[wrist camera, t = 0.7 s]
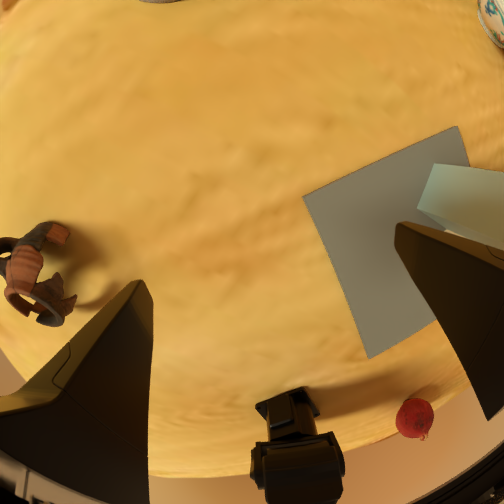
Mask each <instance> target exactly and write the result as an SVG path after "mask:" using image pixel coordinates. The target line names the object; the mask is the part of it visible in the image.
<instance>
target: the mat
mask: <svg viewBox="0 0 504 504" xmlns="http://www.w3.org/2000/svg"><path fill="white" fill-rule="evenodd" d="M434 163H436V164H446V165H455V166H464V167H470V166H469V162H468V158H467V155H466V151H465V148H464V145H463V141H462V138H461V135H460V132H459V129H458V126H454V127H451V128H449V129H447V130H444V131H442V132H440V133H438V134H435V135H433V136H431V137H428V138H426V139H424V140H422V141H419V142H417V143H415V144H413V145H411V146H408V147H406V148H404V149H402V150H400V151H397V152H395V153H393V154H391V155H389V156H386V157H384V158H382V159H380V160H378V161H376V162H373V163H371V164H369V165H367V166H365V167H363V168H361V169H359V170H356V171H354V172H352V173H350V174H348V175H346V176H344V177H342V178H340V179H338V180H335V181H333V182H331V183H329V184H327V185H325V186H323V187H321V188H319V189H317V190H315V191H313V192H311V193H309V194H307V195H305V196H303V197H302V198H303V200H304V202H305V204H306V207H307V209H308V211H309V213H310V215H311V217H312V219H313V222H314V224H315V226H316V228H317V230H318V233H319V235H320V237H321V239H322V242H323V244H324V246H325V249H326V251H327V253H328V256H329V258H330V260H331V263H332V265H333V267H334V270H335V272H336V275H337V277H338V279H339V282H340V284H341V287H342V289H343V292H344V294H345V297H346V299H347V302H348V305H349V307H350V310H351V312H352V315H353V318H354V320H355V323H356V326H357V329H358V331H359V334H360V337H361V340H362V342H363V345H364V348H365V351H366V354H367V357H368V359H371V358H373V357H374V356H376V355H378V354H380V353H382V352H384V351H385V350H387V349H389V348H391V347H392V346H394V345H396V344H398V343H399V342H401V341H403V340H404V339H406V338H408V337H409V336H411V335H413V334H414V333H416V332H418V331H419V330H421V329H422V328H424V327H425V326H427V325H428V324H430V323H431V322H433V321H434V320H436V319H437V318H436V317H435V315H434V313H433V312H432V310H431V309H430V307H429V305H428V304H427V302H426V301H425V299H424V297H423V296H422V294H421V293H420V291H419V290H418V288H417V287H416V285H415V284H414V282H413V280H412V279H411V277H410V275H409V273H408V271H407V269H406V268H405V266H404V264H403V262H402V260H401V259H400V257H399V255H398V253H397V252H396V250H395V247H394V236H395V226H396V224H397V223H398V222H403V221H409V222H412V223H416V224H420V225H423V226H427V227H431V228H434V229H437V230H441V231H444V232H448V233H451V234H454V235H458V236H461V235H459V234H456V233H454V232H452V231H450V230H447V229H446V228H444V227H443V226H442V225H440V224H439V223H437V222H436V221H435V220H433V219H432V218H430V217H429V216H427V215H426V214H424V213H423V212H421V211H420V210H418V209H417V206H418V204H419V201H420V199H421V197H422V194H423V192H424V189H425V187H426V184H427V181H428V179H429V176H430V173H431V171H432V168H433V165H434ZM461 237H463V236H461ZM464 238H465V237H464ZM467 239H468V238H467Z"/></svg>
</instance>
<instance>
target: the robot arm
mask: <svg viewBox="0 0 504 504" xmlns="http://www.w3.org/2000/svg"><path fill="white" fill-rule="evenodd" d="M394 247H395V250H396V252H397V253H398V255H399V257H400V259H401V260H402V262H403V264H404V266H405V268H406V269H407V271H408V273H409V275H410V277H411V279H412V280H413V282H414V284H415V285H416V287H417V288H418V290H419V291H420V293H421V294H422V296H423V297H424V299H425V301H426V302H427V304H428V305H429V307H430V309H431V310H432V312H433V313H434V315H435V317H436V318H437V320H438V322H439V324H440V325H441V327H442V329H443V330H444V332H445V334H446V336H447V337H448V339H449V341H450V343H451V345H452V347H453V348H454V350H455V352H456V354H457V356H458V358H459V360H460V362H461V364H462V366H463V368H464V370H465V372H466V374H467V376H468V378H469V380H470V382H471V385H472V387H473V389H474V391H475V393H476V395H477V398H478V400H479V402H480V405H481V407H482V409H483V412H484V414H485V417H486V419H487V421H489V420H491V419H492V418H493V417H494V416H496V415H497V414H498V413H499V412H501V411H502V410H503V409H504V250H501V249H498V248H495V247H492V246H489V245H484V244H483V243H480V242H476V241H473V240H470V239H467V238H464V237H461V236H458V235H454V234H451V233H448V232H444V231H441V230H437V229H434V228H431V227H427V226H423V225H420V224H416V223H412V222H409V221H403V222H398V223H397V224H396V226H395V236H394ZM152 351H153V299H152V297H151V295H150V293H149V291H148V288H147V286H146V284H145V282H144V281H143V280H141V279H139V280H135V281H131V282H130V283H129V284H128V285H127V286H126V287H124V288H123V289H122V290H121V291H120V292H119V293H118V294H117V295H116V296H115V297H114V298H113V299H112V300H111V301H109V302H108V303H107V304H106V305H105V306H104V307H103V308H102V309H101V310H100V311H99V312H98V313H97V314H96V315H95V316H94V317H93V318H92V319H91V320H90V321H89V322H88V323H87V324H86V325H85V326H84V327H83V328H82V329H81V330H80V331H79V332H78V333H77V334H76V335H75V336H74V337H73V338H72V339H71V340H70V342H68V343H67V344H66V345H65V346H64V347H63V348H62V349H61V350H60V351H59V352H58V353H57V354H56V355H55V356H54V357H53V358H52V359H51V360H50V361H49V362H48V363H47V364H46V365H45V366H43V367H42V368H41V369H40V370H39V371H38V372H37V373H36V374H35V375H34V376H33V377H32V378H31V379H30V380H29V381H28V382H27V383H26V384H25V385H23V386H22V388H20V389H19V390H18V391H16V392H15V393H12V394H10V395H6V396H0V504H150V501H149V481H148V457H147V456H148V410H149V390H150V375H151V362H152ZM300 391H302V392H300ZM255 409H256V410H257V411H258V412H259V413H260V415H261V416H262V417H263V418H264V419H265V420H266V421H267V430H268V442H256V447H254V449H252V450H251V468H250V478H252V479H253V480H255V483H256V484H257V486H258V489H259V490H261V489H265V499H266V502H267V503H268V504H336V503H337V501H338V499H340V497H341V495H342V492H343V486H342V478H341V477H344V475H345V462H344V457H343V454H342V451H341V449H340V446H339V444H338V442H337V440H336V438H335V435H334V433H333V431H330V432H328V433H324V434H319V435H318V433H317V429H316V425H315V421H314V418H315V417H317V416H319V415H320V412H319V410H318V409H317V407H316V406H315V404H314V402H313V401H312V399H311V398H310V396H309V395H308V393H307V392H306V390H305V389H304V388H298V389H296V390H293V391H291V392H288V393H285V394H283V395H280V396H277V397H275V398H272V399H269V400H266V401H263V402H260V403H257V404H256V405H255ZM407 504H504V440H503V441H502V442H501V443H499V444H498V445H497V446H496V447H495V448H494V449H492V450H491V451H490V452H488V453H487V454H486V455H485V456H483V457H482V458H481V459H479V460H478V461H477V462H475V463H474V464H473V465H471V466H470V467H468V468H467V469H466V470H464V471H463V472H461V473H460V474H458V475H457V476H455V477H454V478H452V479H450V480H449V481H447V482H446V483H444V484H442V485H441V486H439V487H437V488H435V489H434V490H432V491H430V492H428V493H427V494H425V495H423V496H421V497H419V498H417V499H415V500H413V501H411V502H409V503H407Z"/></svg>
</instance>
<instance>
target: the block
mask: <svg viewBox="0 0 504 504" xmlns="http://www.w3.org/2000/svg"><path fill="white" fill-rule="evenodd" d="M417 209H418V210H420V211H421V212H423V213H424V214H426V215H427V216H429V217H430V218H432V219H433V220H435V221H436V222H437V223H439V224H440V225H442V226H443V227H444V228H446V229H447V230H450V231H452V232H454V233H456V234H459V235H461V236H463V237H465V238H468V239H470V240H473V241H476V242H480V243H483V244H484V245H489V246H492V247H495V248H498V249H501V250H504V172H499V171H492V170H486V169H479V168H472V167H464V166H455V165H446V164H436V163H434V165H433V168H432V171H431V173H430V176H429V179H428V181H427V184H426V187H425V189H424V192H423V194H422V197H421V199H420V201H419V204H418V206H417Z"/></svg>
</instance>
